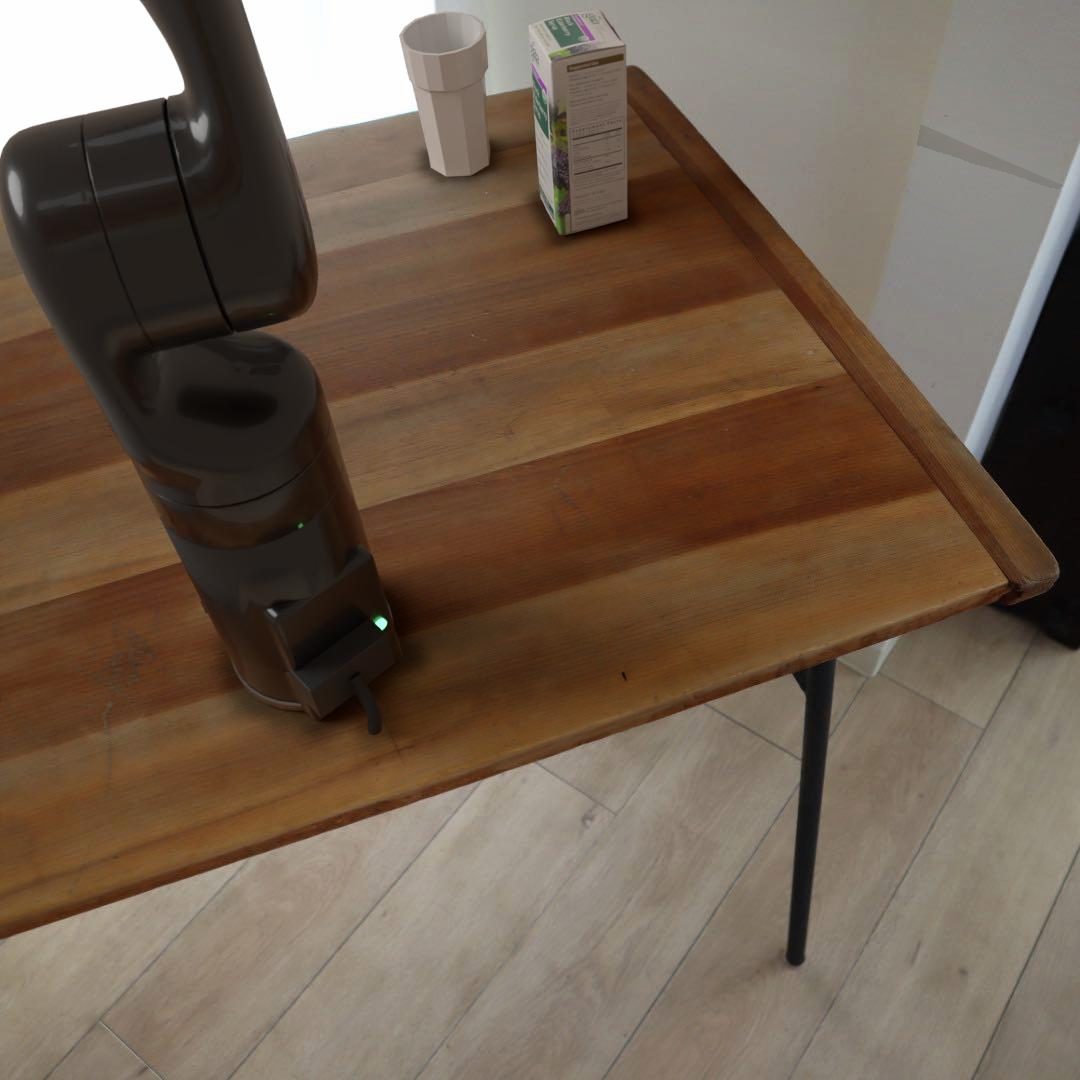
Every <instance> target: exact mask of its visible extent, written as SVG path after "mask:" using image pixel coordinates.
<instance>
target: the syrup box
mask: <svg viewBox="0 0 1080 1080" xmlns="http://www.w3.org/2000/svg"><path fill="white" fill-rule="evenodd" d="M528 39H529V40H528V41H529V53H530V67H531V68H530V69H531V81H532V82H531V84H532V101H533V103H532V104H533V116H534V130H535V131H534V132H535V143H536V144H535V145H536V159H537V160H536V161H537V173H538V182H539V183H538V184H539V197H540V200H541V202H542V203H543V205H544V207H545V210H546V212H547V214H548V216H549V217H550V219H551V221H552V223H553V226H554V227H555V228H556V231H557V232H558V234H559V235H560V236H566V235H571V234H574V233H579V232H581V231H586V230H590V229H594V228H598V227H601V226H605V225H608V224H613V223H615V222H616V223H617V222H619V221H624V220H627V219H628V207H629V206H628V86H627V84H628V81H627V79H628V78H627V76H628V75H627V44H626V43H625V41H624V40H622V38H621V36H620V35H619V33H618V32H617V29H615V27H614V26H613V24H612V23H611V22H610V20H609V19H608V18H607V16H606V15H605V14H604V12H603V11H602V10H600V9H597V10H587V11H577V12H569V13H565V14H560V15H557V16H552V17H548V18H545V19H542V20H539V21H536V22H534V23H530V24H529V25H528Z"/></svg>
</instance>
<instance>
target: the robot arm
mask: <svg viewBox="0 0 1080 1080" xmlns="http://www.w3.org/2000/svg"><path fill="white" fill-rule="evenodd" d="M139 2H140V4H141V5H142V6H143V7H144V9H145V11H146V12H147V14H148V15H149V16H150V18H151V20H152V21H153V23H154V24H155V26H156V28H157V29H158V31H159V32H160V34H161V36H162V38H163V39H164V41H165V43H166V44H167V46H168V48H169V50H170V52H171V54H172V56H173V59H174V60H175V63H176V65H177V67H178V71H179V72H180V75H181V77H182V81H183V90H182V92H180V93H178V94H173V95H168V96H167V98H166V97H164V96H163V97H158V98H153V99H149V100H148V99H147V100H143V101H139V102H134V103H130V104H125V105H120V106H115V107H111V108H107V109H101V110H96V111H91V112H88V113H84V114H78V115H74V116H69V117H65V118H60V119H55V120H51V121H47V122H42V123H39V124H35V125H32V126H28V127H26V128H24V129H21V130H18V131H17V132H16V133H15V134H13V135H12V136H11V137H9V138H8V140H7V141H6V143H5V145H4V146H3V148H2V150H1V152H0V212H1V216H2V221H3V223H4V227H5V230H6V234H7V236H8V239H9V242H10V245H11V248H12V250H13V252H14V255H15V257H16V259H17V261H18V264H19V267H20V269H21V270H22V273H23V275H24V278H25V280H26V282H27V284H28V287H29V288H30V291H31V292H32V294H33V295H34V297H35V299H36V301H37V303H38V305H39V307H40V308H41V309H42V312H43V314H44V315H45V318H46V319H47V321H48V322H49V324H50V326H51V327H52V329H53V331H54V333H55V335H56V336H57V338H58V339H59V341H60V343H61V344H62V346H63V348H64V349H65V351H66V352H67V355H69V357H70V359H71V361H72V362H73V364H74V366H75V367H76V369H77V370H78V372H79V373H80V375H81V377H82V378H83V380H84V382H85V384H86V385H87V387H88V388H89V390H90V392H91V394H92V395H93V397H94V399H95V401H96V402H97V404H98V406H99V408H100V410H101V411H102V414H103V415H104V417H105V419H106V421H107V423H108V425H109V427H110V429H111V431H112V433H113V434H114V437H115V438H116V440H117V442H118V443H119V445H120V447H121V449H122V450H123V451H124V452H125V454H126V455H127V457H128V458H129V459H130V460H131V462H132V465H133V467H134V469H135V471H136V473H137V475H138V477H139V479H140V481H141V483H142V485H143V487H144V489H145V491H146V493H147V495H148V497H149V500H150V501H151V503H152V504H153V507H154V509H155V511H156V513H157V515H158V517H159V519H160V521H161V524H162V526H163V527H164V529H165V531H166V534H167V535H168V537H169V539H170V542H171V544H172V546H173V547H174V549H175V551H176V553H177V555H178V557H179V559H180V561H181V563H182V565H183V567H184V570H185V571H186V573H187V576H188V577H189V578H190V581H191V583H192V586H193V587H194V589H195V592H196V593H197V595H198V597H199V599H200V604H201V607H202V608H203V610H204V612H205V614H206V615H208V617H209V619H210V621H211V623H212V625H213V627H214V629H215V631H216V633H217V635H218V637H219V638H220V640H221V642H222V644H223V646H224V648H225V650H226V651H227V654H228V655H229V657H230V661H231V665H232V667H233V670H234V672H235V674H236V676H237V678H238V679H239V682H240V683H241V685H242V686H243V687H244V689H245V690H246V691H247V692H248V693H249V694H250V695H251V696H253V697H254V698H255V699H257V700H259V701H260V702H262V703H264V704H266V705H268V706H271V707H274V708H277V709H281V710H287V711H298V712H300V711H301V712H304V713H306V714H308V716H309V717H310V718H312V720H314V721H316V722H319V721H321V720H322V719H324V718H325V717H327V716H328V715H330V713H332V712H333V711H334V710H336V709H337V708H338V707H340V706H341V705H343V704H344V703H345V702H346V701H348V700H349V699H350V698H352V697H353V696H357V698H358V699H359V701H360V703H361V705H362V707H363V709H364V712H365V715H366V719H367V732H368V733H369V735H372V736H378V735H379V734H380V733H382V727H383V726H382V721H383V716H382V713H381V710H380V707H379V704H378V701H377V700H376V698H375V696H374V694H373V693H372V691H371V689H370V687H369V685H370V684H371V682H373V681H374V680H375V679H376V678H378V677H379V676H380V675H382V674H384V673H385V672H386V671H387V670H388V669H390V668H391V667H392V666H394V665H395V664H396V663H398V662H399V661H400V660H401V659H402V658H403V651H402V648H401V645H400V641H399V637H398V634H397V631H396V628H395V622H394V617H393V613H392V610H391V607H390V604H389V602H388V600H387V597H386V594H385V591H384V587H383V584H382V580H381V577H380V573H379V571H378V568H377V564H376V561H375V557H374V555H373V553H372V550H371V547H370V544H369V540H368V536H367V533H366V531H365V526H364V524H363V521H362V518H361V517H362V516H361V514H360V511H359V507H358V503H357V501H356V498H355V497H356V496H355V493H354V490H353V487H352V484H351V480H350V477H349V473H348V470H347V467H346V464H345V460H344V456H343V453H342V449H341V446H340V442H339V439H338V435H337V431H336V429H335V426H334V423H333V418H332V416H331V413H330V409H329V406H328V403H327V402H328V401H327V399H326V396H325V392H324V389H323V385H322V382H321V379H320V376H319V375H318V372H317V370H316V368H315V367H314V365H313V364H312V362H311V361H310V360H309V358H308V357H307V355H306V354H305V353H304V352H303V351H302V350H301V349H300V348H298V347H297V346H296V345H295V344H293V343H292V342H290V341H289V340H287V339H285V338H283V337H281V336H279V335H276V334H275V333H271V332H270V331H266V330H261V329H262V328H266V327H270V326H274V325H278V324H281V323H285V322H288V321H290V320H294V319H296V318H298V317H301V316H303V315H305V313H307V312H308V311H309V309H311V307H312V305H313V303H314V302H315V299H316V296H317V292H318V284H319V264H318V254H317V249H316V248H317V247H316V243H315V237H314V232H313V227H312V223H311V219H310V213H309V210H308V206H307V202H306V199H305V195H304V191H303V188H302V185H301V181H300V178H299V174H298V170H297V167H296V165H295V161H294V159H293V155H292V151H291V149H290V145H289V141H288V139H287V136H286V133H285V130H284V127H283V123H282V121H281V118H280V115H279V111H278V108H277V104H276V102H275V99H274V96H273V93H272V89H271V87H270V83H269V80H268V77H267V74H266V70H265V68H264V65H263V62H262V58H261V54H260V53H259V49H258V45H257V42H256V39H255V37H254V34H253V30H252V27H251V24H250V21H249V18H248V15H247V12H246V8H245V5H244V2H243V0H139Z"/></svg>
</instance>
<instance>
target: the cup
mask: <svg viewBox="0 0 1080 1080" xmlns="http://www.w3.org/2000/svg"><path fill="white" fill-rule="evenodd" d="M398 37H399V41H400V46H401V51H402V55H403V59H404V64H405V69H406V74H407V76H408V81H410V83H411V86H412V89H413V94H414V98H415V103H416V107H417V111H418V115H419V116H418V117H419V120H420V124H421V127H422V128H421V129H422V133H423V137H424V141H425V145H426V150H427V155H428V160H429V165H430V168H431V169H433V170H434V171H436V172H438V173H439V174H441V175H442V176H444V177H445V178H449V177H450V178H451V177H468V176H469V177H470V176H472V175H474V174H476V173H478V172H479V171H481V170H483V169H484V168H486V167H488V166H490V158H491V157H490V156H491V146H490V145H491V144H490V133H489V118H488V104H487V102H488V101H487V88H486V87H487V86H486V72H487V70H488V69H489V57H488V56H489V55H488V41H487V40H488V39H487V29H486V27H485V24H484V22H483V21H482V20H481V19H480V18H479V17H478V16H476V15H474V14H471V13H467V12H462V11H447V10H445V11H440V12H435V13H429V14H426V15H423V16H420V17H418V18H414V19H413V20H412V21H410V22H409V23H408V24H407V25H405V26H404V27H403V29H402V30H401V31H400V33H399V34H398Z"/></svg>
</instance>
